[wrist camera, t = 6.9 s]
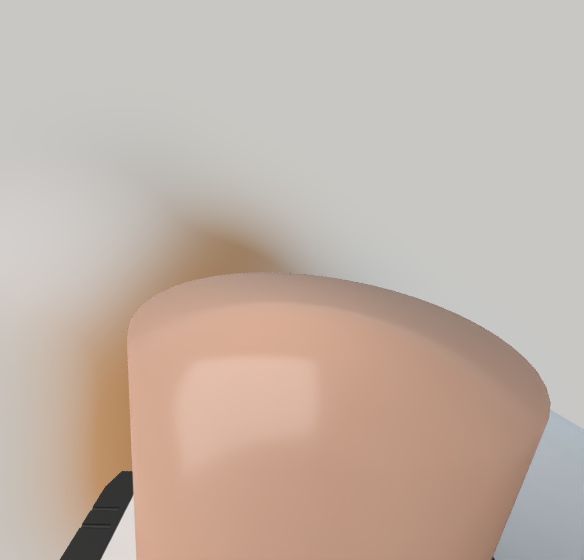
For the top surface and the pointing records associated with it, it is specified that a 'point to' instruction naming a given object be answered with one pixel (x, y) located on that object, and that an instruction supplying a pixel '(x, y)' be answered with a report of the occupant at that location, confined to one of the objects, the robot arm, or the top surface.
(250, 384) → the terracotta canister
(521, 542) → the top surface
